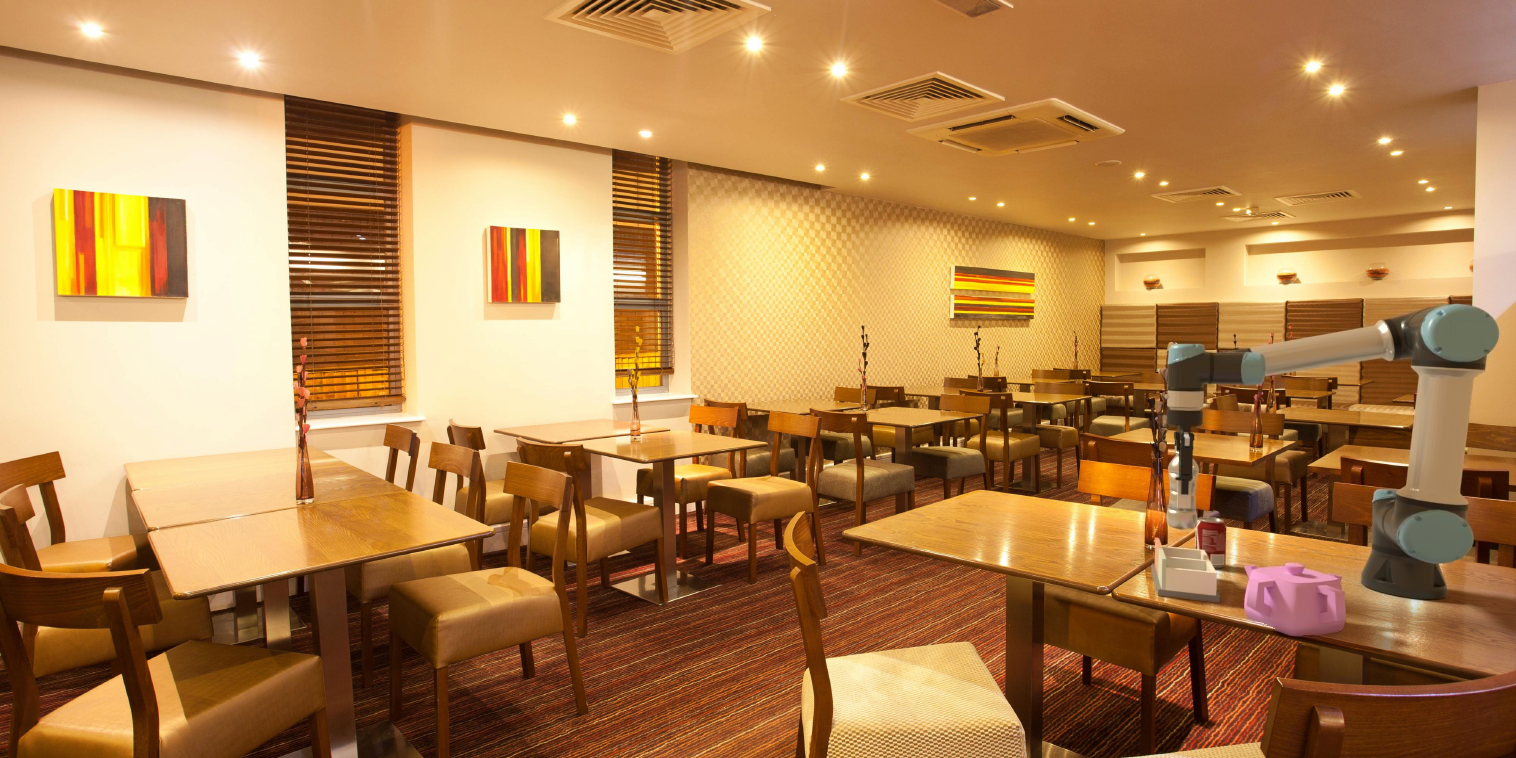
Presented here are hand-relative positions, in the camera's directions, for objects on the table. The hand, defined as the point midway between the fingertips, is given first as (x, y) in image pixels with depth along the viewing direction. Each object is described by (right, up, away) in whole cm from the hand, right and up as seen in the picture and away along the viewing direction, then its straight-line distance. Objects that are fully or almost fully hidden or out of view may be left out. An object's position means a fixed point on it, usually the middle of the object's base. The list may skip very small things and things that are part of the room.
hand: (1182, 504), depth 182 cm
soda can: (+14, -18, +12) cm, 26 cm away
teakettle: (+7, -20, -27) cm, 35 cm away
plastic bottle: (0, -6, 0) cm, 6 cm away
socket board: (-2, -18, -4) cm, 19 cm away
